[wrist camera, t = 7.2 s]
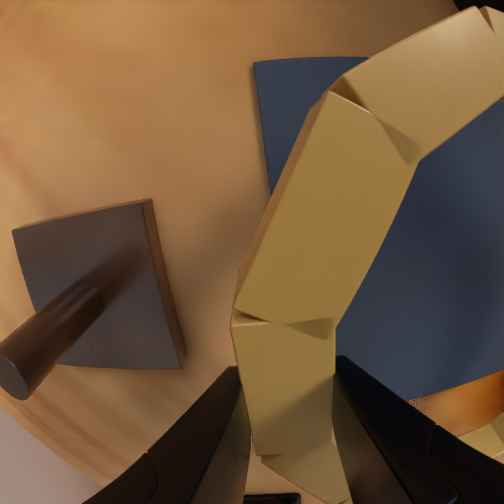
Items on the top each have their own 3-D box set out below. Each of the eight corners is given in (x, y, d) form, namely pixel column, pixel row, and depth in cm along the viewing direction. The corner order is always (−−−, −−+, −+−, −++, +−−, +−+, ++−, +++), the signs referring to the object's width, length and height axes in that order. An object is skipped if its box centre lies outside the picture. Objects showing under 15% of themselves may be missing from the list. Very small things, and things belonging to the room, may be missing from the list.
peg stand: (187, 356, 15) (145, 475, 8) (66, 353, 16) (0, 434, 9) (152, 197, 13) (43, 246, 6) (24, 224, 14) (-80, 271, 6)
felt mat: (511, 362, 15) (513, 364, 15) (292, 416, 16) (292, 420, 16) (533, 86, 10) (536, 86, 10) (253, 64, 11) (253, 62, 11)
